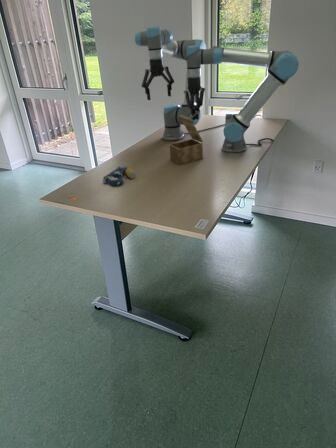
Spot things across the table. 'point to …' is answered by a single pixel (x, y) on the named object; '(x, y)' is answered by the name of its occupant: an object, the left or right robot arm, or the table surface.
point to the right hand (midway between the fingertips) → (195, 119)
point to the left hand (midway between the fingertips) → (159, 98)
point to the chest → (186, 151)
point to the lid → (191, 126)
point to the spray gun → (118, 175)
